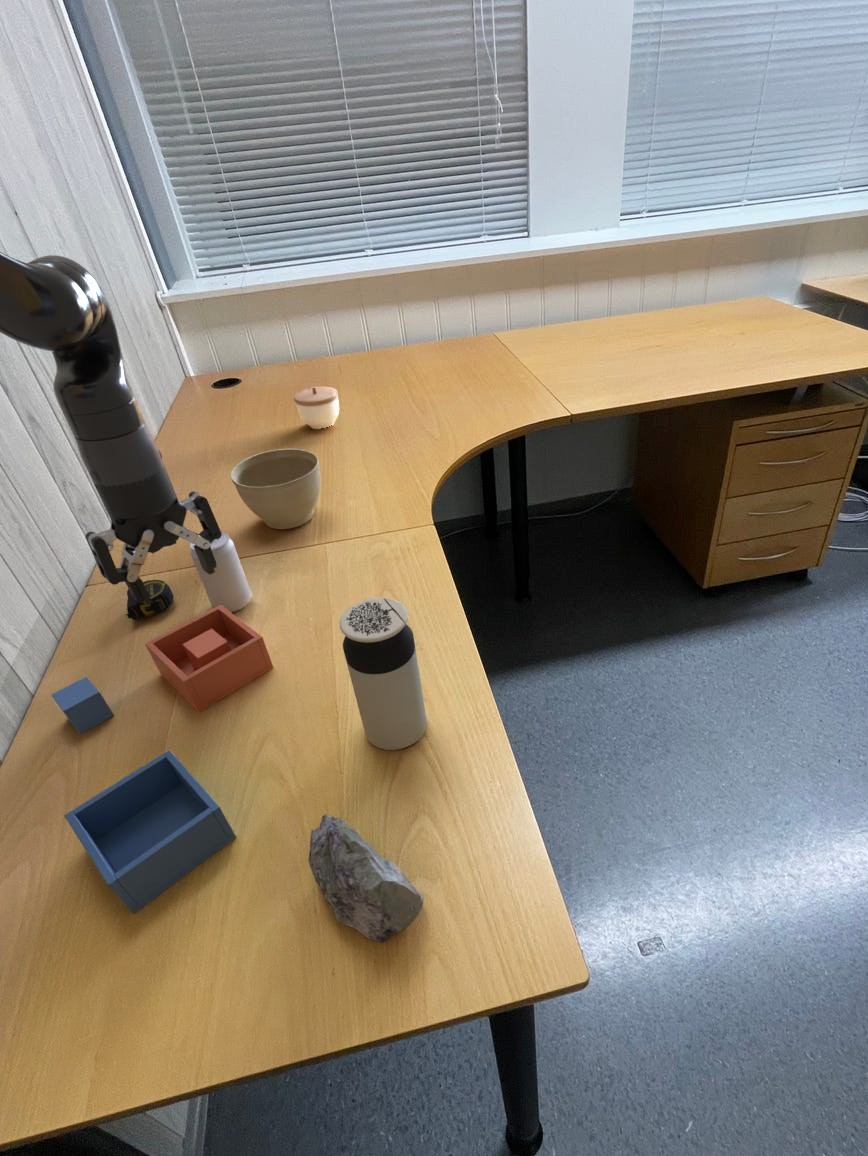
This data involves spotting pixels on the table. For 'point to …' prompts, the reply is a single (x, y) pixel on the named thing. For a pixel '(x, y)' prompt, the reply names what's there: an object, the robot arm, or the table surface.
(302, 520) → the planter bowl
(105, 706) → the blue block
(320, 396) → the trinket box
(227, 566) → the beverage can
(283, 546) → the table surface
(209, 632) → the terracotta block
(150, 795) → the blue bin
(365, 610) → the travel mug
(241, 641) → the terracotta bin
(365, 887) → the mineral rock
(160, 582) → the tape measure
